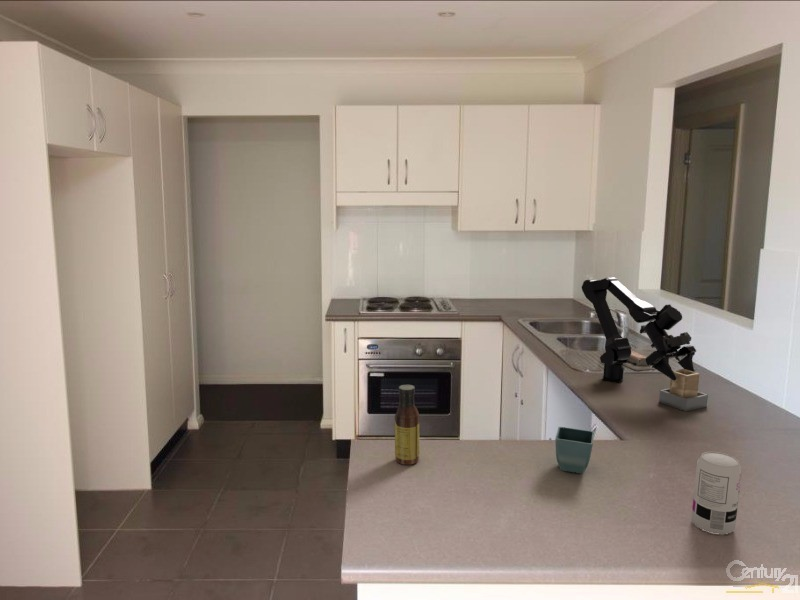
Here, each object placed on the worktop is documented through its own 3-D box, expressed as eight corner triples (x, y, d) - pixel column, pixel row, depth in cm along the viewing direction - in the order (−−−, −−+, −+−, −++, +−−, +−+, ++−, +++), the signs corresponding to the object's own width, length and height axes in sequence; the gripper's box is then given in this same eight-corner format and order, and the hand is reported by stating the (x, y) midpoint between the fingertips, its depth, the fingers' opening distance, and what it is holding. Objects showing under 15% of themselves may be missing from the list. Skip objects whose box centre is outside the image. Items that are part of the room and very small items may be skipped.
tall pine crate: (668, 400, 207) (671, 371, 205) (680, 397, 210) (683, 368, 208) (684, 406, 202) (687, 376, 200) (696, 403, 205) (699, 373, 203)
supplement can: (683, 516, 135) (690, 450, 133) (720, 515, 136) (727, 450, 133) (704, 537, 127) (712, 468, 125) (743, 536, 128) (751, 466, 125)
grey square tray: (658, 401, 208) (660, 390, 207) (679, 397, 213) (680, 385, 212) (685, 411, 199) (687, 399, 199) (706, 406, 204) (708, 394, 203)
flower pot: (591, 464, 160) (594, 430, 159) (590, 479, 152) (592, 443, 151) (556, 458, 163) (558, 426, 162) (553, 473, 155) (555, 438, 153)
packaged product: (609, 348, 260) (630, 346, 262) (608, 359, 261) (629, 358, 263) (636, 359, 243) (658, 358, 245) (635, 371, 244) (657, 370, 246)
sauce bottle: (407, 453, 165) (408, 380, 162) (424, 461, 161) (426, 386, 157) (388, 461, 161) (389, 386, 157) (406, 468, 156) (407, 392, 153)
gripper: (655, 327, 202) (682, 369, 194) (694, 321, 211) (721, 362, 203) (634, 345, 210) (658, 386, 202) (671, 339, 219) (696, 378, 211)
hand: (684, 378), depth 205 cm, fingers open, 9 cm apart
